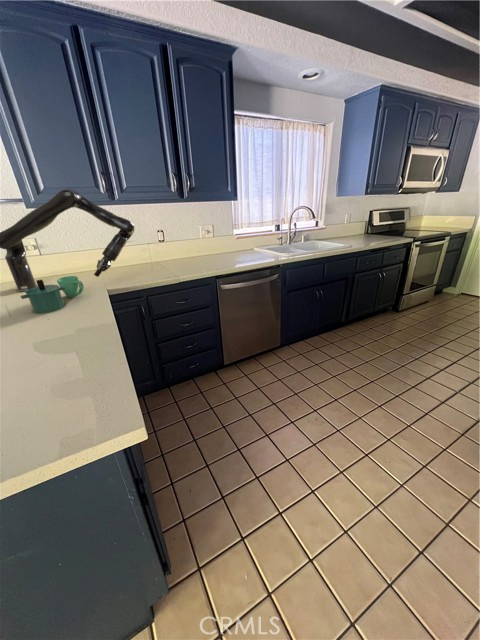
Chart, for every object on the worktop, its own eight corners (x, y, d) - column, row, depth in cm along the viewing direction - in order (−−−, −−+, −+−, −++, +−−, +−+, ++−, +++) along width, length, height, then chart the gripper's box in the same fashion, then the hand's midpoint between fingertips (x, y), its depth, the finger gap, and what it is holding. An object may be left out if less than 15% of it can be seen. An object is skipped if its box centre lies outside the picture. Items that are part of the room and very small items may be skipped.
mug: (58, 297, 145) (52, 280, 141) (73, 292, 153) (68, 275, 149) (78, 301, 140) (72, 283, 136) (93, 294, 149) (88, 277, 144)
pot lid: (23, 291, 128) (19, 280, 126) (55, 284, 137) (51, 274, 135) (29, 298, 120) (25, 286, 118) (63, 290, 129) (59, 279, 126)
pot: (24, 310, 131) (17, 291, 126) (65, 299, 142) (60, 283, 138) (30, 317, 123) (23, 298, 119) (73, 306, 134) (67, 288, 130)
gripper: (102, 245, 155) (85, 270, 153) (111, 248, 147) (94, 274, 144) (113, 253, 161) (97, 277, 158) (123, 256, 153) (106, 281, 150)
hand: (95, 275), depth 151 cm, fingers closed
